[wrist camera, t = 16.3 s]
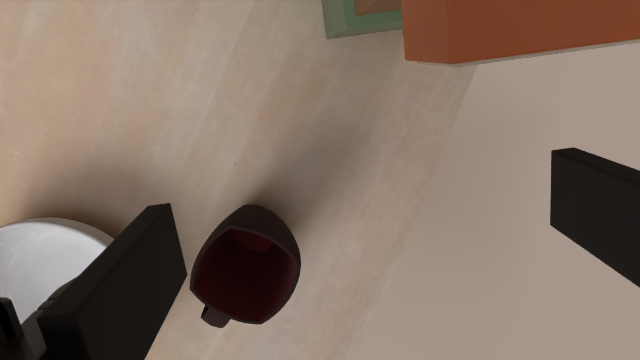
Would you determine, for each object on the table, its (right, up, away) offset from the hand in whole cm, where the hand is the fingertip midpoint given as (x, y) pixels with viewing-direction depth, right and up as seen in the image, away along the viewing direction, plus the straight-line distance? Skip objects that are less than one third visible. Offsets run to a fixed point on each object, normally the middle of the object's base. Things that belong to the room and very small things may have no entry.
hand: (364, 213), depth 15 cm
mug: (-10, -6, +40) cm, 42 cm away
